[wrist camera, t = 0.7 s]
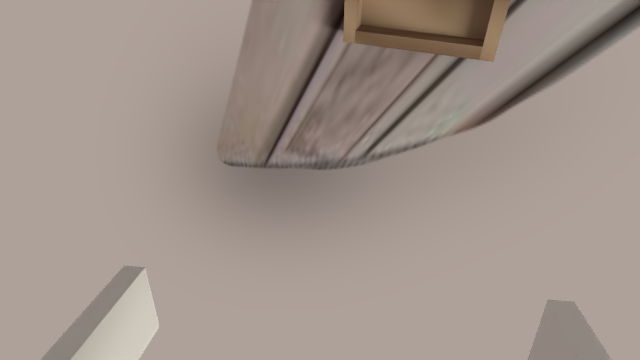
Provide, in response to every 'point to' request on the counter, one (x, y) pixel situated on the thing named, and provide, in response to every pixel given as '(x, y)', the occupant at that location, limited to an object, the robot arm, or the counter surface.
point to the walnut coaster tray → (428, 25)
